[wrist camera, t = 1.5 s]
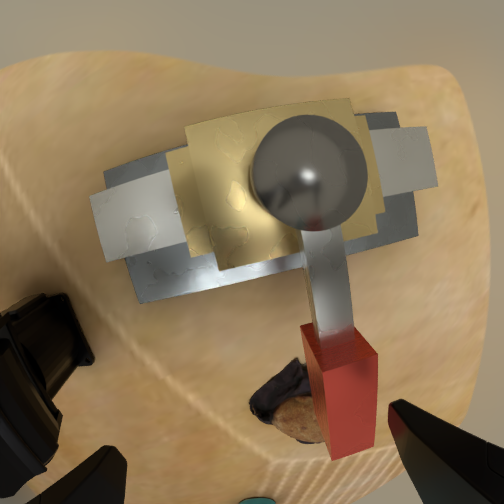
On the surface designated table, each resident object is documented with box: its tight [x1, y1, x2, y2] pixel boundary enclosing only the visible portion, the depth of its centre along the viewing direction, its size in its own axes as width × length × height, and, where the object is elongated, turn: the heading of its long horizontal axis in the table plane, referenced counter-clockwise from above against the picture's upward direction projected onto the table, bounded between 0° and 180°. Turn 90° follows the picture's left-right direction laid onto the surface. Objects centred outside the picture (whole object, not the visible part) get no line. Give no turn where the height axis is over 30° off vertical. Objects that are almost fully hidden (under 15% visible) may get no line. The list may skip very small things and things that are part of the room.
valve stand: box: [89, 98, 438, 304], centre depth 14 cm, size 9×20×9 cm, turn 103°
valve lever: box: [250, 115, 378, 461], centre depth 9 cm, size 12×3×3 cm, turn 13°
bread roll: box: [249, 358, 325, 444], centre depth 21 cm, size 11×8×4 cm
